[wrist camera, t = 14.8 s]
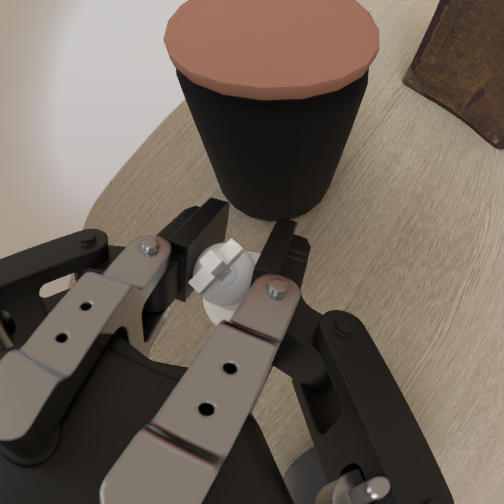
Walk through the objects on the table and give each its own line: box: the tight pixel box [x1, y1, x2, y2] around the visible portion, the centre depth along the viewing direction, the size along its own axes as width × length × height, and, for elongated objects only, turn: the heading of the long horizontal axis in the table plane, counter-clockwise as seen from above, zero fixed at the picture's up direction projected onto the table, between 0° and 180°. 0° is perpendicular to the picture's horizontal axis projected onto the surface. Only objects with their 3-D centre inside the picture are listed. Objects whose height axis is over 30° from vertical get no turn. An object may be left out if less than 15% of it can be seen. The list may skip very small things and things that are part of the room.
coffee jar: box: [164, 0, 379, 221], centre depth 20 cm, size 11×11×18 cm
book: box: [402, 0, 504, 149], centre depth 18 cm, size 17×7×25 cm, turn 50°
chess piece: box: [188, 238, 261, 327], centre depth 13 cm, size 5×5×10 cm
